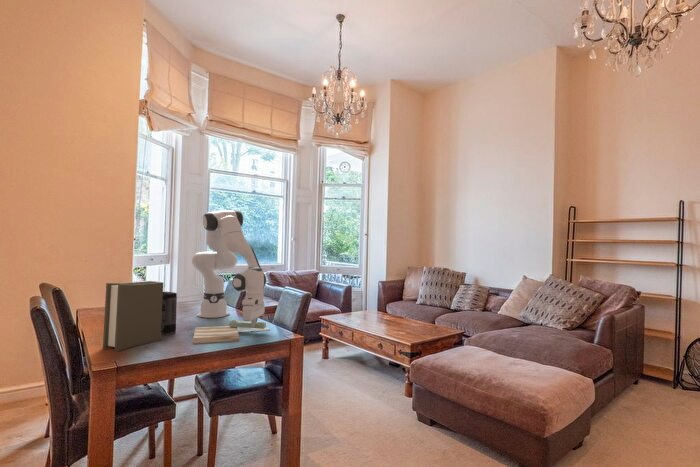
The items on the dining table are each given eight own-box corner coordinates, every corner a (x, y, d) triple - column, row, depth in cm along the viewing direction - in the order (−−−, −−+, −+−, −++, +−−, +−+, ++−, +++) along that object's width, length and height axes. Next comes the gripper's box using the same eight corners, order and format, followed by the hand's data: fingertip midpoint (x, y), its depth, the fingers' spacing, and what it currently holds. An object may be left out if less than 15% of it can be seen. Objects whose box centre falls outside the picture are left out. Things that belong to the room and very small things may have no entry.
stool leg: (230, 326, 194) (230, 320, 194) (232, 325, 197) (232, 319, 197) (263, 328, 192) (263, 322, 192) (265, 327, 195) (265, 321, 195)
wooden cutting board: (195, 332, 192) (195, 327, 192) (268, 328, 204) (268, 323, 204) (193, 343, 173) (193, 337, 173) (273, 338, 185) (273, 333, 185)
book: (148, 338, 182) (151, 279, 183) (161, 340, 178) (164, 281, 179) (102, 348, 163) (106, 283, 163) (116, 351, 158) (120, 284, 159)
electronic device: (154, 332, 190) (155, 292, 190) (165, 330, 195) (166, 291, 195) (166, 335, 185) (167, 294, 185) (177, 332, 191) (178, 292, 191)
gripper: (256, 295, 202) (256, 321, 202) (240, 302, 182) (239, 331, 182) (267, 296, 201) (267, 322, 201) (252, 302, 181) (252, 331, 181)
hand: (254, 326), depth 191 cm, fingers closed
